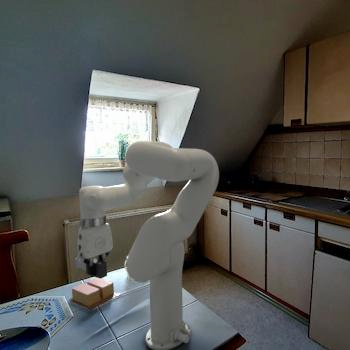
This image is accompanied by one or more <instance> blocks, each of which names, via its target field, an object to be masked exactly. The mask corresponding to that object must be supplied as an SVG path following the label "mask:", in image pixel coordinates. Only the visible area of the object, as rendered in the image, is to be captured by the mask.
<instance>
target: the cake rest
mask: <svg viewBox="0 0 350 350" xmlns="http://www.w3.org/2000/svg"><path fill="white" fill-rule="evenodd" d="M86 284H88V285H90V286H93V287H95V288H98V289H100V298H103V299H104V298H106V297H108V296H110V295H111V294H113V293H114V292H115V287H114V285H115V284H114V282H113V281H111V280H108V279H105V278H101V279H100V278H97V277H94V278H92V279H90V280H88V281H86Z"/></svg>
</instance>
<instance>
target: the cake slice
mask: <svg viewBox="0 0 350 350" xmlns="http://www.w3.org/2000/svg"><path fill="white" fill-rule="evenodd" d="M71 294H72V297H71V299H72V298H73V300H75V301H77V302H79V303H82V304H84V305H86V306H90V305H92V304H94V303H96V302H98V301H100V289H98V288H95V287H93V286H90V285H88V284H87V283H85V282H83V283H81V284H79V285H76V286H74V287H72V288H71Z"/></svg>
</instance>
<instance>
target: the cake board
mask: <svg viewBox="0 0 350 350" xmlns="http://www.w3.org/2000/svg"><path fill="white" fill-rule="evenodd" d="M120 295H121V293H120V292H117V291H114V293H113V294H111V295H110V296H108V297H106V298H104V299H103V298H100V301H98V302H96V303H94V304H92V305H90V306H86V305H84V304H82V303H79V302H77V301H75V300H73V298H72V297H71V298H69V299H68V301H69V302H72V303H73V304H76V305H78V306H80V307H82V308H84V309H87V310H88V311H92V310H94V309H96V308H98V307H100V306H102V305H103V304H105V303H107V302H109V301H111V300H113V299H115V298H117V297H119V296H120Z"/></svg>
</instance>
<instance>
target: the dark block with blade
mask: <svg viewBox="0 0 350 350" xmlns="http://www.w3.org/2000/svg"><path fill="white" fill-rule="evenodd" d="M76 258H77V257H74V263H75V268H77V269H80V270H84V271H85V274H86V275H88V276H90V275H89V274H88V268H87V264H85V263H80V262H76ZM107 263H108V262H107V261H106V260H105V261H101V260H98V258H94V265H95V267H96V276H94V278H100V279H101V278H102V279H104V278H105V277H108V266H107Z"/></svg>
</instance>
